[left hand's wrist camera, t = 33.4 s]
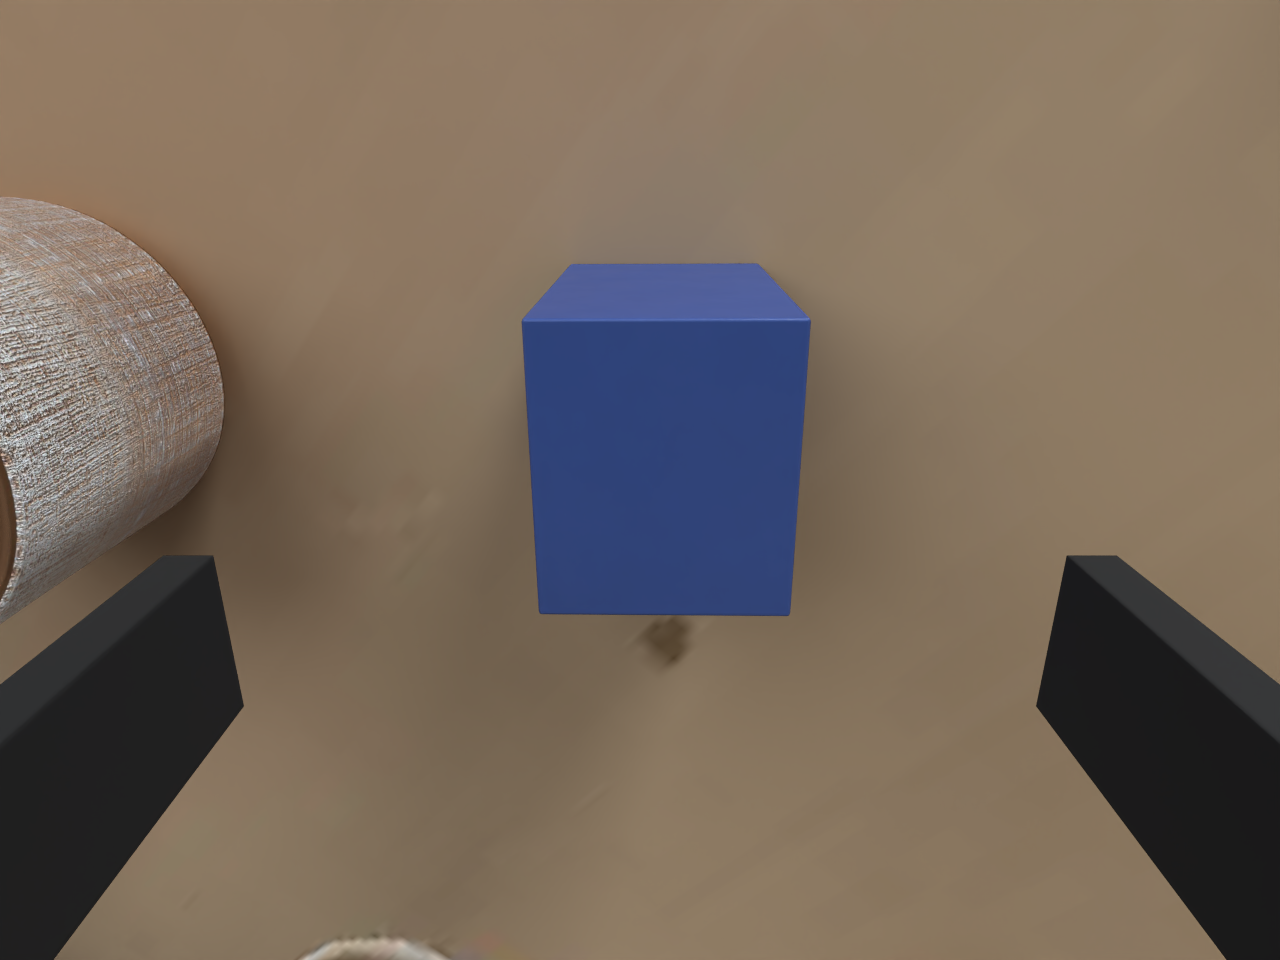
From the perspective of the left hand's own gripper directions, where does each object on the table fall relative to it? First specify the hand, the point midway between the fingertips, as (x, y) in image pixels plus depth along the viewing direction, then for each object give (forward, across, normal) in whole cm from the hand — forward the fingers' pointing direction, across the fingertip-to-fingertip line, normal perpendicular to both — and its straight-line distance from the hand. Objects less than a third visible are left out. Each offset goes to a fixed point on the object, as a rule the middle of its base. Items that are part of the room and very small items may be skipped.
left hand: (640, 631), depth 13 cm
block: (+15, -1, -1) cm, 15 cm away
